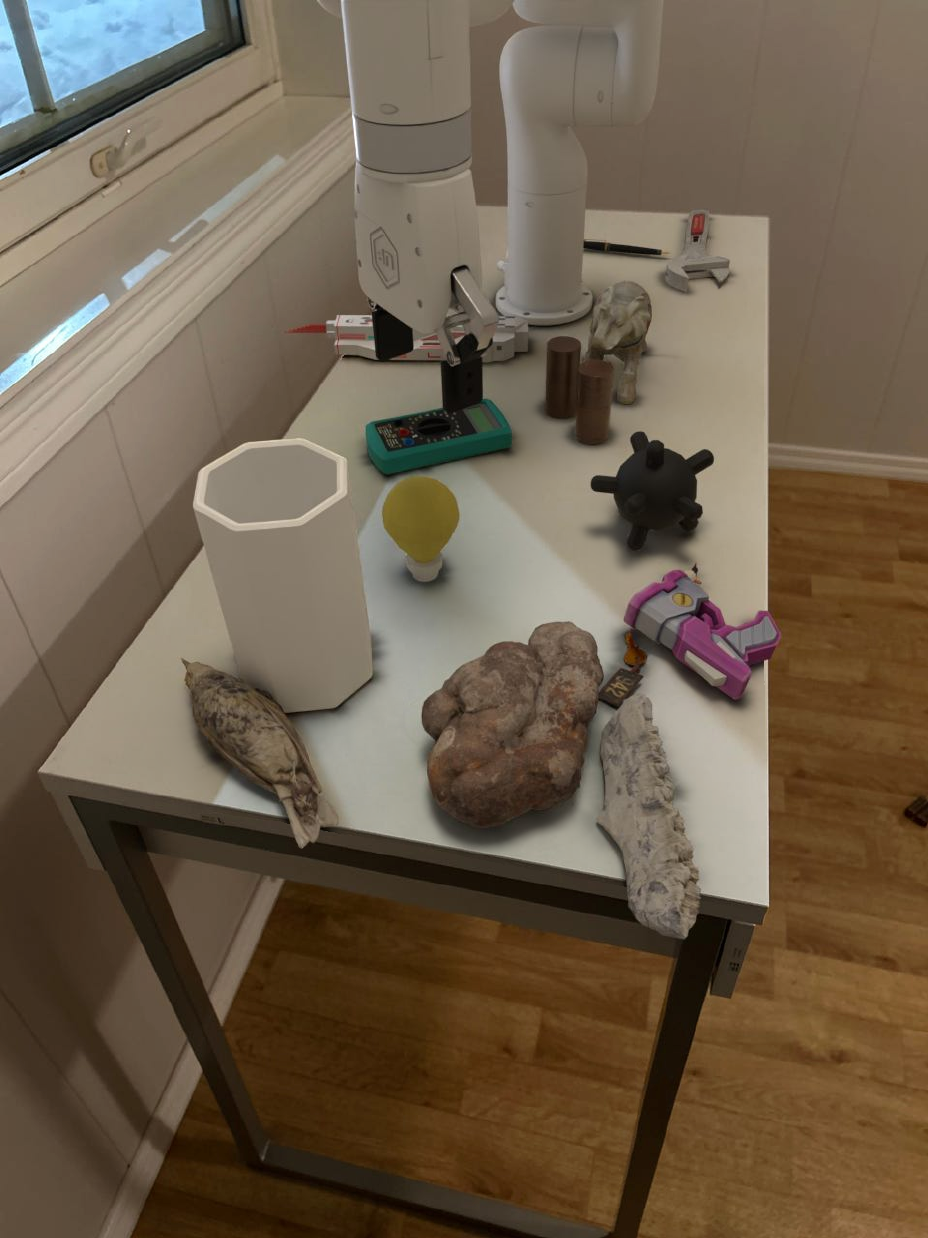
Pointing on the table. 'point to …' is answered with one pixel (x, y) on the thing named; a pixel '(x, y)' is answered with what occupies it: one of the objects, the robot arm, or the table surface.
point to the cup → (287, 570)
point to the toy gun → (702, 631)
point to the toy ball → (655, 488)
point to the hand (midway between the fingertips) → (427, 379)
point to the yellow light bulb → (421, 522)
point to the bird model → (259, 745)
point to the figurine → (621, 331)
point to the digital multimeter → (436, 437)
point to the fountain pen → (620, 248)
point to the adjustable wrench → (696, 255)
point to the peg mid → (594, 401)
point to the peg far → (562, 376)
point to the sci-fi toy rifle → (419, 338)
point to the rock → (514, 726)
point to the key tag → (624, 675)
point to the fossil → (647, 822)
